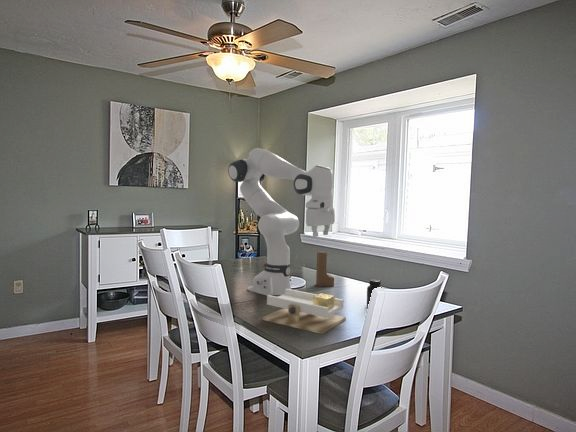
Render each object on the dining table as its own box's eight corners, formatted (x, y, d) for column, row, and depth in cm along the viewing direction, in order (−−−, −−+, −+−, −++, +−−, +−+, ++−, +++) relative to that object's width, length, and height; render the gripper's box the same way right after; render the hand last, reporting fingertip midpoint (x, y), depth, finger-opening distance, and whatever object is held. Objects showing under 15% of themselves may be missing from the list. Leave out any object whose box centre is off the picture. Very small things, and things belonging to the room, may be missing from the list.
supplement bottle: (370, 303, 181) (372, 277, 180) (384, 307, 176) (386, 280, 176) (363, 307, 175) (364, 280, 175) (377, 310, 171) (378, 282, 170)
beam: (266, 304, 156) (267, 295, 156) (286, 296, 168) (286, 288, 168) (326, 317, 142) (326, 308, 142) (343, 308, 154) (343, 299, 154)
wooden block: (332, 284, 217) (333, 251, 216) (334, 286, 213) (335, 252, 212) (315, 284, 216) (317, 251, 215) (317, 286, 212) (318, 252, 210)
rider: (312, 306, 150) (313, 296, 150) (320, 303, 155) (320, 293, 155) (327, 309, 147) (327, 299, 146) (334, 306, 152) (334, 295, 152)
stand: (262, 319, 154) (262, 300, 154) (289, 307, 171) (290, 290, 170) (322, 334, 140) (323, 313, 140) (345, 319, 157) (346, 300, 157)
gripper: (326, 203, 181) (325, 233, 182) (303, 203, 164) (302, 236, 165) (338, 203, 178) (337, 234, 179) (317, 204, 161) (316, 238, 162)
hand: (320, 235), depth 172 cm, fingers open, 8 cm apart
